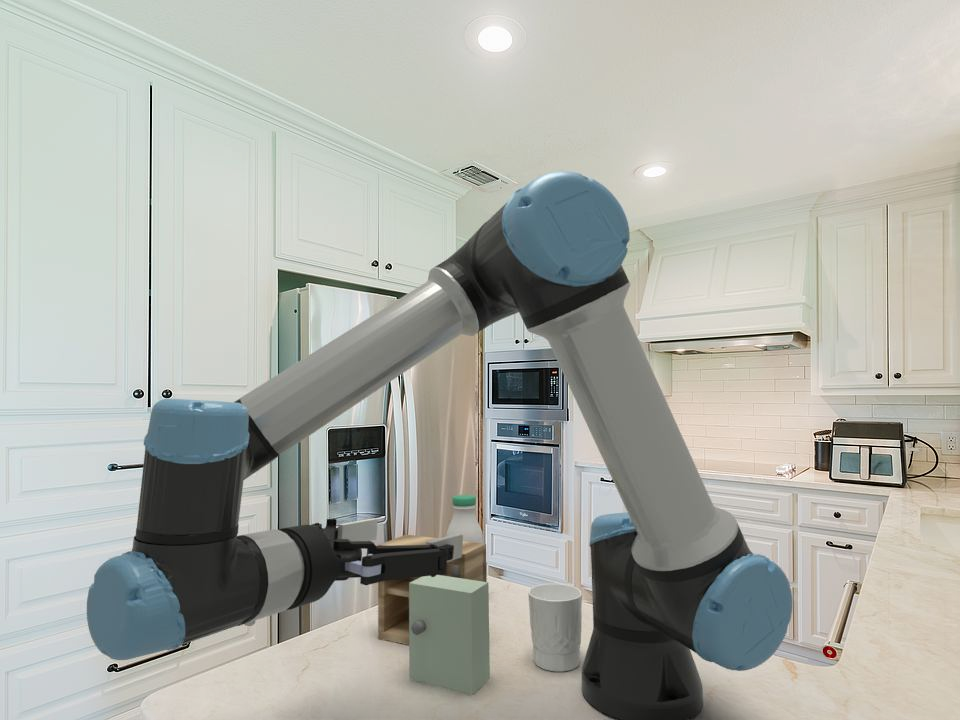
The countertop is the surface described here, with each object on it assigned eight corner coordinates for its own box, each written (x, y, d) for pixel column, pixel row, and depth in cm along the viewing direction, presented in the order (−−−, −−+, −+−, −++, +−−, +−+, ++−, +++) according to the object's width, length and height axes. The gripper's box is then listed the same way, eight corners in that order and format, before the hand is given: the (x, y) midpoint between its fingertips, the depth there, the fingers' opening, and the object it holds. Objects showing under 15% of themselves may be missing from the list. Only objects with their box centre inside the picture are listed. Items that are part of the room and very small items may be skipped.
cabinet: (487, 637, 91) (486, 543, 92) (460, 659, 83) (459, 556, 84) (406, 621, 98) (406, 534, 99) (375, 640, 90) (375, 545, 92)
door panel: (489, 679, 77) (488, 582, 78) (468, 700, 72) (466, 595, 73) (429, 664, 82) (428, 573, 83) (404, 683, 76) (404, 585, 77)
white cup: (564, 680, 77) (561, 605, 77) (519, 663, 82) (517, 592, 83) (594, 660, 82) (591, 590, 83) (550, 645, 88) (548, 580, 88)
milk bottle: (437, 602, 108) (436, 497, 109) (461, 591, 114) (460, 492, 116) (469, 610, 103) (468, 500, 105) (492, 598, 110) (491, 494, 111)
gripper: (197, 584, 59) (341, 550, 77) (376, 643, 46) (498, 586, 64) (205, 512, 60) (346, 495, 78) (382, 551, 47) (502, 520, 65)
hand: (415, 536), depth 71 cm, fingers open, 13 cm apart
